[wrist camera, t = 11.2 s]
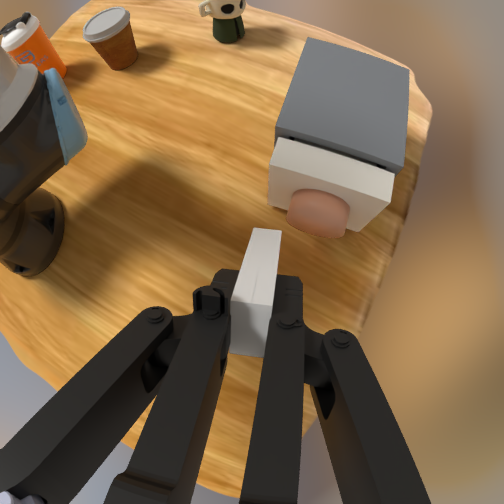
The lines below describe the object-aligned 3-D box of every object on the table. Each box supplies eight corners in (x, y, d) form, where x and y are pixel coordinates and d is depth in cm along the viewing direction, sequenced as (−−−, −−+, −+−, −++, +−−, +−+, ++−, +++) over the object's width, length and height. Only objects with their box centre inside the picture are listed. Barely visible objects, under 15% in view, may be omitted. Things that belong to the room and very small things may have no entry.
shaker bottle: (41, 74, 53) (1, 24, 33) (71, 57, 53) (34, 1, 33) (37, 98, 51) (-10, 47, 31) (69, 81, 51) (25, 21, 31)
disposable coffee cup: (125, 41, 52) (107, 3, 41) (154, 49, 51) (138, 7, 39) (94, 70, 51) (71, 33, 39) (122, 80, 50) (99, 39, 38)
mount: (364, 209, 43) (403, 167, 29) (272, 180, 44) (275, 125, 30) (379, 124, 46) (409, 69, 32) (298, 99, 47) (307, 37, 33)
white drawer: (353, 252, 41) (385, 229, 29) (261, 224, 42) (260, 190, 30) (377, 129, 45) (402, 83, 33) (299, 104, 46) (307, 52, 34)
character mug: (218, 55, 50) (209, 2, 37) (196, 40, 51) (185, -9, 38) (261, 31, 51) (260, -19, 38) (238, 18, 52) (234, -29, 40)
